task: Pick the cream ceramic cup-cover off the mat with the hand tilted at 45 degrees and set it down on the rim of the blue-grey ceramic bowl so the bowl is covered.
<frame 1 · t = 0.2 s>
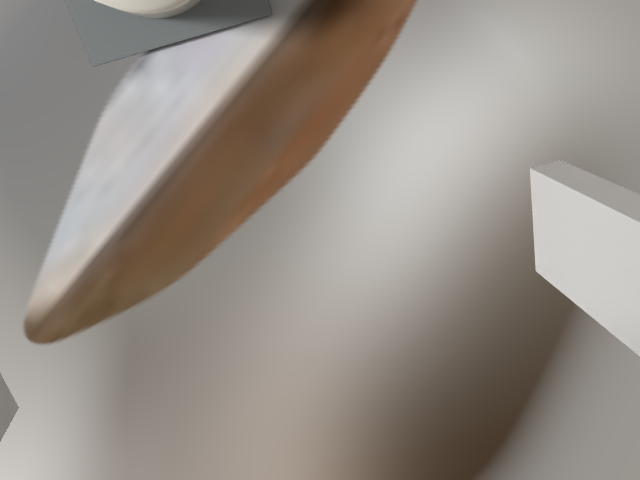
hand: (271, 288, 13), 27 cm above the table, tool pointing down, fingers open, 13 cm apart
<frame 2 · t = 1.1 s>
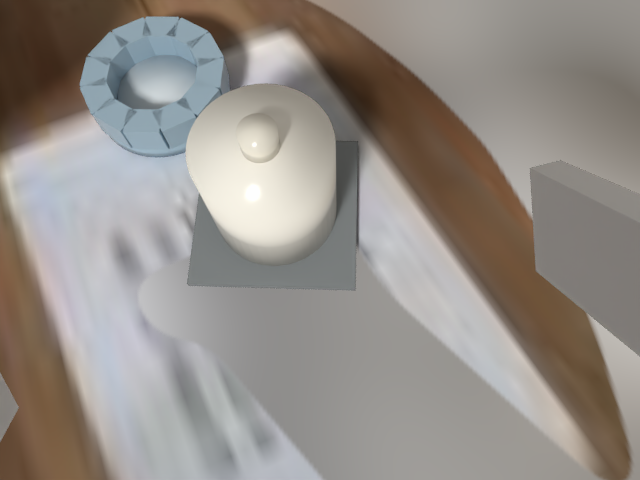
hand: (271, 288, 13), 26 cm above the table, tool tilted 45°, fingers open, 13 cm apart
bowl: (165, 100, 46), on the table
cover: (276, 209, 42), resting on mat
mat: (277, 211, 42), on the table
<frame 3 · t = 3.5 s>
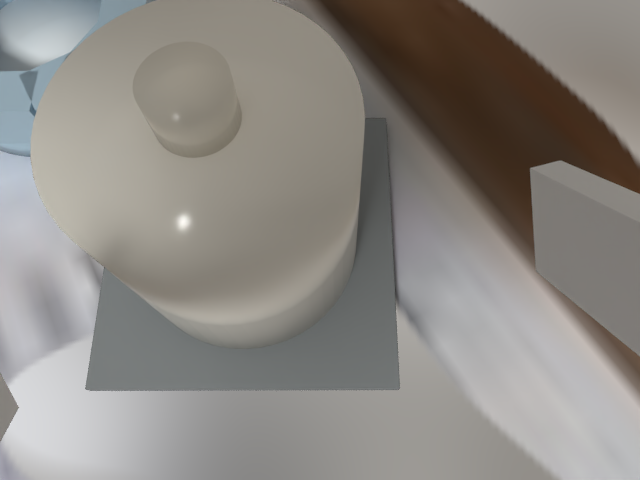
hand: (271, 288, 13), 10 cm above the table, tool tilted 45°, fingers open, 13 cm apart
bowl: (61, 62, 28), on the table
cover: (248, 241, 23), resting on mat
mat: (250, 246, 24), on the table
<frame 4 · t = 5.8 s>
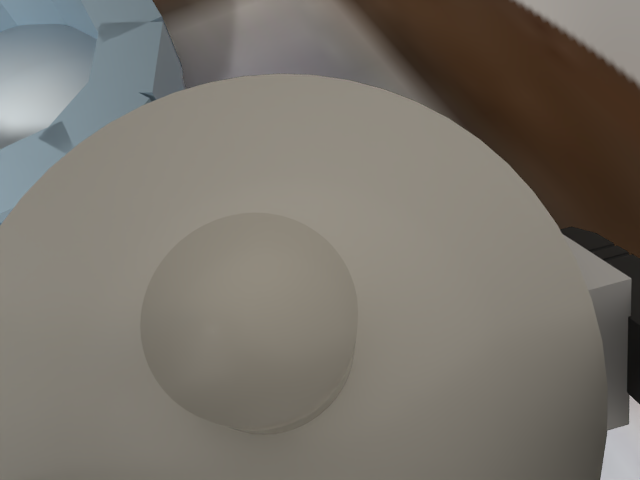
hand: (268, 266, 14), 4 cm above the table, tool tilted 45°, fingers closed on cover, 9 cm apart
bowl: (42, 125, 21), on the table
cover: (306, 406, 16), resting on mat, touching gripper
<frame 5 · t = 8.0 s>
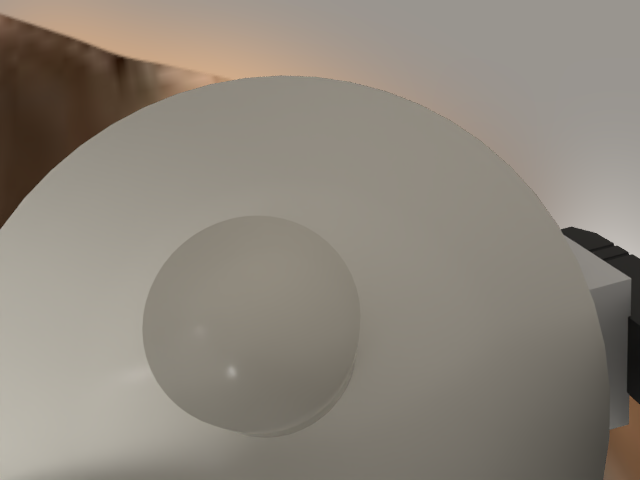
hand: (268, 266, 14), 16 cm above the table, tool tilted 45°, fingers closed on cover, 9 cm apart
cover: (307, 407, 16), point 12 cm above the table, touching gripper
when the fingers open (8 cm above the table, at t = 10.3 s): cover drops 1 cm, resting on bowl.
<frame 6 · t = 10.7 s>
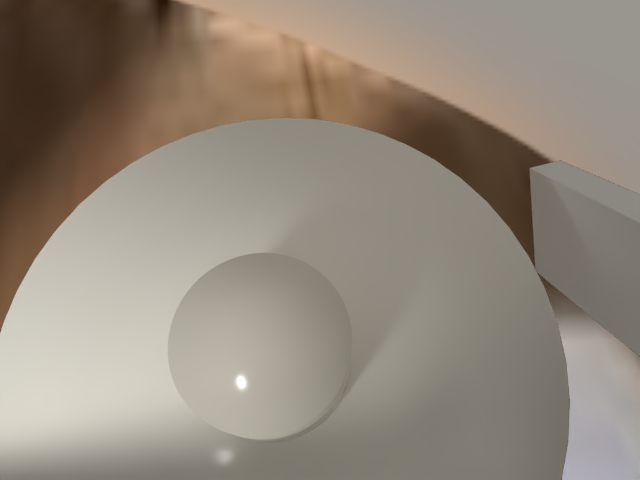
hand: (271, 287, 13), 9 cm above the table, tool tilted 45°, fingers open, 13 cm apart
cover: (307, 411, 17), point 4 cm above the table, touching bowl
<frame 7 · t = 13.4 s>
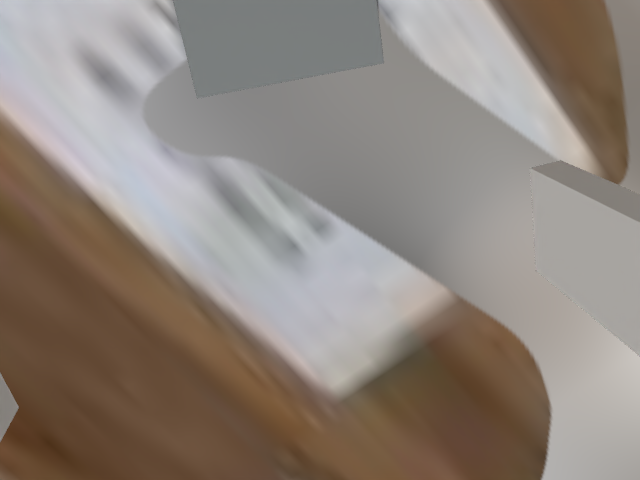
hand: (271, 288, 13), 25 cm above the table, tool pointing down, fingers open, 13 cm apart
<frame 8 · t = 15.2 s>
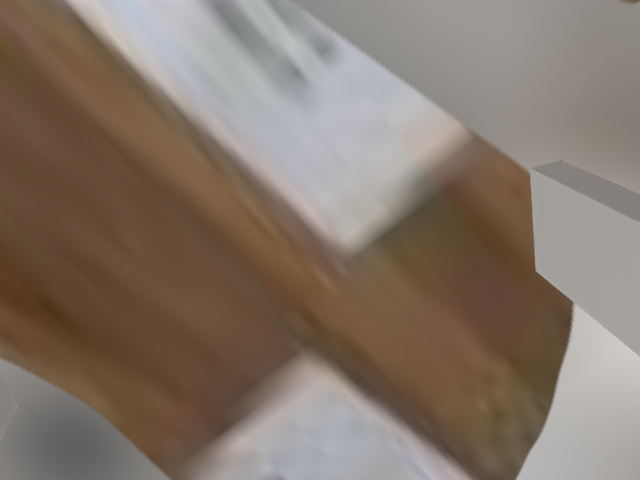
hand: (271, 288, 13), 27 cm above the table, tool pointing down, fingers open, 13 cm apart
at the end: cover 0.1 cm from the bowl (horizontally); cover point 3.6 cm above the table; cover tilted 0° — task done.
